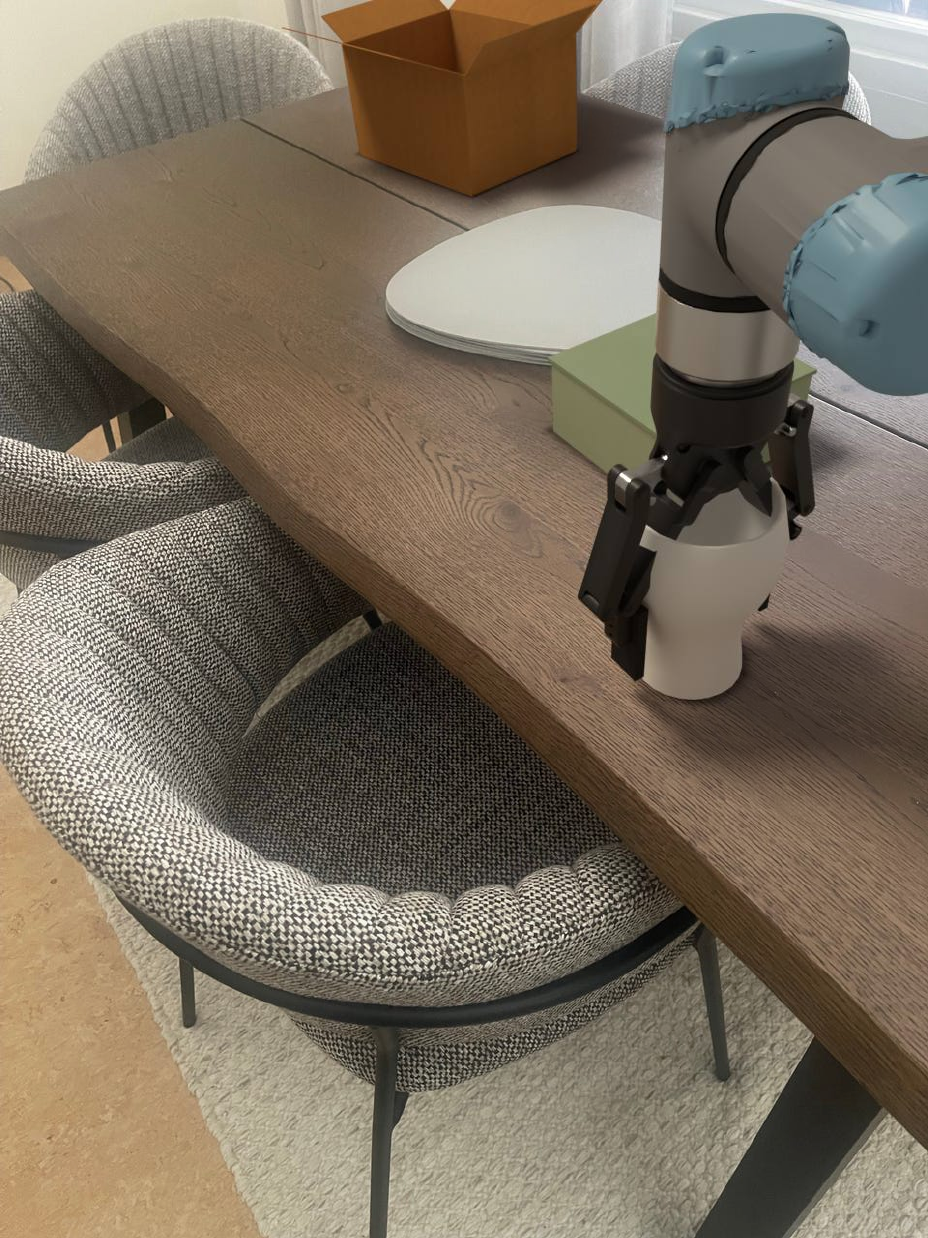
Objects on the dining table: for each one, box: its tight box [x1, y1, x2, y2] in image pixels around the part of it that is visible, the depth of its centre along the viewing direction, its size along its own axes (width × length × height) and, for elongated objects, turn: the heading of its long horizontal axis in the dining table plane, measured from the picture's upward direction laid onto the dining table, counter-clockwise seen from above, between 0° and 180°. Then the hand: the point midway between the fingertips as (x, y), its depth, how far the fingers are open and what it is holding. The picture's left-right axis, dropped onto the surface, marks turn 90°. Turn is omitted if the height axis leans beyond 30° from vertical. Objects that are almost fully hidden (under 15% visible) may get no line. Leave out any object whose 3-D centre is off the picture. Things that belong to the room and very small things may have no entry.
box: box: [281, 0, 603, 197], centre depth 137 cm, size 39×37×21 cm
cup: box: [640, 476, 790, 701], centre depth 63 cm, size 11×11×15 cm
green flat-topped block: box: [547, 312, 818, 475], centre depth 85 cm, size 16×16×8 cm
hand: (690, 632), depth 66 cm, fingers closed on cup, 11 cm apart
